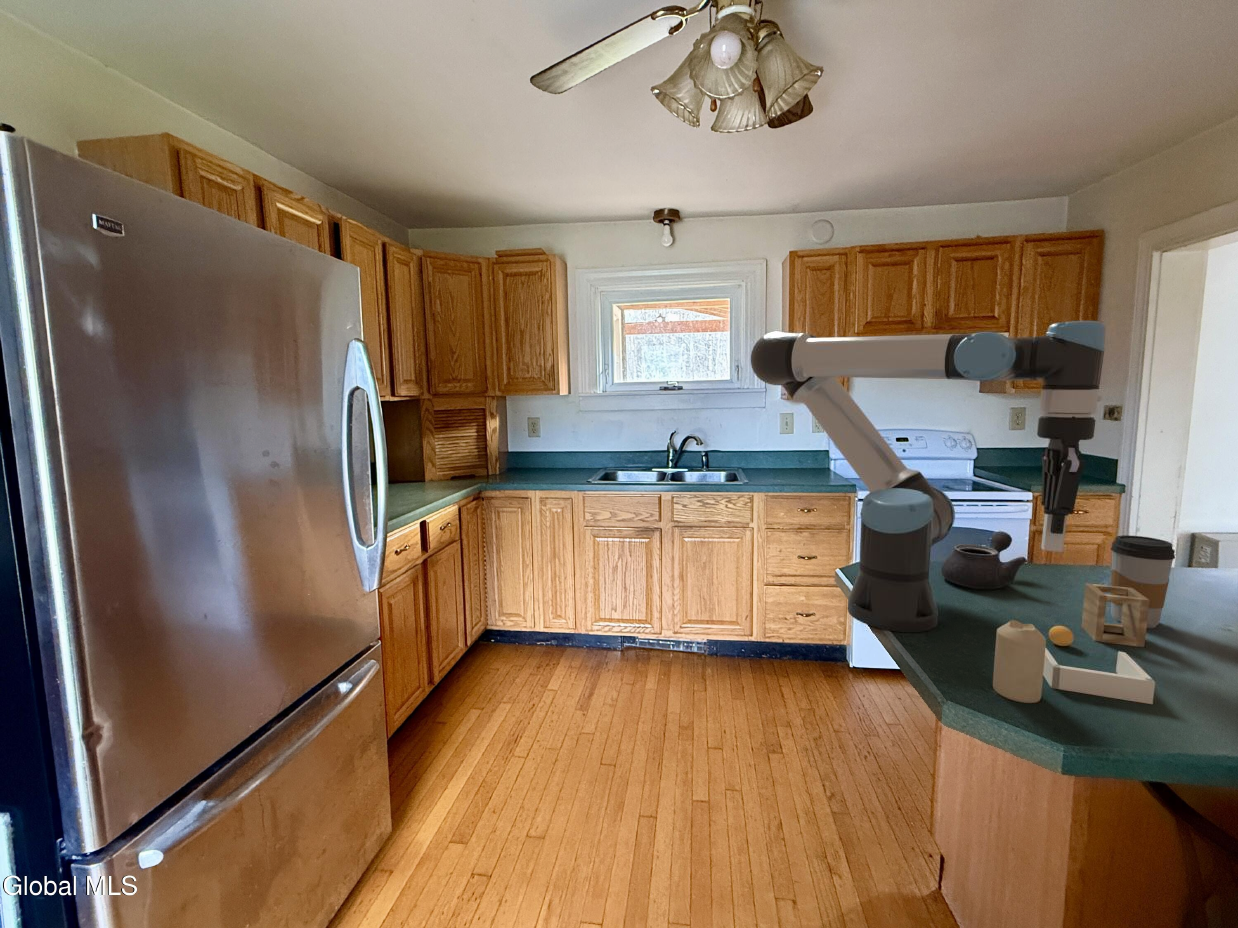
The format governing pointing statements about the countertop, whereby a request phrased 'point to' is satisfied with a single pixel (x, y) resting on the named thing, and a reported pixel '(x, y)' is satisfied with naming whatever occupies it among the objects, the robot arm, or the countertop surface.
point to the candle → (1019, 662)
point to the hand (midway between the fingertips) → (1051, 549)
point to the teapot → (982, 564)
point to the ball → (1061, 635)
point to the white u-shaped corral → (1102, 680)
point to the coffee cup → (1142, 572)
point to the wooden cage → (1131, 615)
